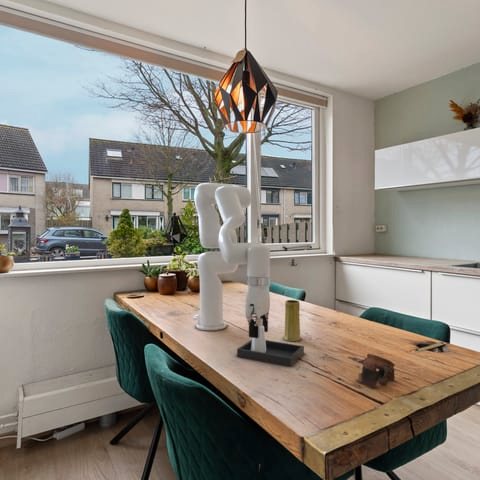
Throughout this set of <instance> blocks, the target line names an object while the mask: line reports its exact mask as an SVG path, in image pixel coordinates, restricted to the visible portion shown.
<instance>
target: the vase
mask: <svg viewBox="0 0 480 480" xmlns="http://www.w3.org/2000/svg"><path fill="white" fill-rule="evenodd" d="M284 303H285V304H284V306H285V308H284V311H285V312H284V333H283V334H284V336H283V339H284V340H285V341H288V342H298V341H300V340H301V324H300V323H301V322H300V321H301V319H300V301H299V300H298V299H297V300H296V299H288V300H285V302H284Z"/></svg>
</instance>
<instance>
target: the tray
mask: <svg viewBox="0 0 480 480" xmlns="http://www.w3.org/2000/svg"><path fill="white" fill-rule="evenodd" d="M265 341H266V353H262V352H256V351H251V344H252V339H250V340H249V341H247V342H245V343H244V344H242V345H241V346H239V347H238V348H237V349H236V357H237V358H242V359H243V358H244V359H248V360H254V361H258V362H259V361H260V362H263V363H269V364H275V365H280V366H284V367H285V366H286V367H292V366H293V365H294V364H295V363H296V362H298V361H299V359H300V358H301V357H302V356H304V354H305V346H304V345H299V344H292V343H287V342H280V341H274V340H268V339H265Z"/></svg>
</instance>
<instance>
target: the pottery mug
mask: <svg viewBox="0 0 480 480" xmlns="http://www.w3.org/2000/svg"><path fill="white" fill-rule="evenodd" d="M366 356H367V357H365V358H364V359H363V360H362V361H361V364H362V367H361V372H359V373H358V382H360V383H362V384H364V385H366V386H369V387H372V388H374V389H376V387H377V384H378V385H380V386H381V387H385V386H387V385H388V383H389V382H390V381H394V380H395V377H396V376H395V369H394V368H395V366H396V365H395V363H394V362H392V361H391V360H390V359H387V358H384V357H382V356H380V355H376V354H371V353H368V354H366ZM377 369H378V370H377Z"/></svg>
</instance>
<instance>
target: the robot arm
mask: <svg viewBox="0 0 480 480" xmlns="http://www.w3.org/2000/svg"><path fill="white" fill-rule="evenodd" d="M193 197H194V199H193V200H194V205H195V208H196V211H197V215H198V230H199V232H198V233H199V243H200V246H201V247H202V248H204V249H219V250H220V251H219V250H218V251H217V250H215V251H205V252H202V253H200V254H199V255H198V257H197V260H196V261H197V262H196V265H197V270H198V277H199V278H198V279H199V314H196V313H195V314H194V315H193V317H192V320H193V321H197V323H196V324H195V325H196V328H197V329H198V330H200V331H220V330H223V329H225V328H226V327H227V322H226V321H224V320H223V319H224V313H223V312H224V311H223V309H224V308H223V303H224V300H223V299H224V298H223V297H224V295H223V294H224V293H223V292H224V288H223V287H224V286H223V282H222V281H221V279H220V278H219V276H218V275H221V274H223V275H224V274H233V273H235V272H236V271H237V270H238V267H239V266H240V265H241V266H242V265H247V266H246V268H247V270H246V271H247V272H246V273H247V274H246V275H247V278H246V280H247V287H246V292H245V294H246V295H245V306H244V308H245V310H244V312H245V313H244V314H245V318H246V321H247V325H248V337H249V338H251V339H252V338H258V326H257V323H258V318H262V319H263V321H262V322H263V326H264V331H265V333H267V332H268V331H269V314H270V310H271V309H270V307H271V300H270V299H271V298H270V297H271V296H270V287H271V248H270V246H269V245H268V244H265V243H257V242H238V235H237V232H236V229H238V228H240V227H241V226H243V224H244V223H245V222H246V218H247V217H246V213H245V212H244V209H246V208H248V207H250V206H251V203H252V200H253V199H252V198H253V197H252V193H251V191H250V190H249V188H248V187H246V186H241V185H237V184H232V183H220V182H203V183H199V184H198V185H197V186H196V187H195V190H194V194H193ZM213 204H214V205H216V206H217V208H218V211H219V213H218V211H217V209H216V208H215V207H214V206H213ZM220 217H221V219H222V223H223V224H222V225H220ZM254 319H255V320H254Z"/></svg>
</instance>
